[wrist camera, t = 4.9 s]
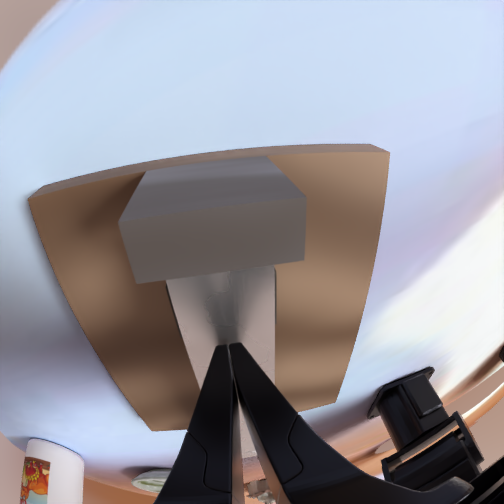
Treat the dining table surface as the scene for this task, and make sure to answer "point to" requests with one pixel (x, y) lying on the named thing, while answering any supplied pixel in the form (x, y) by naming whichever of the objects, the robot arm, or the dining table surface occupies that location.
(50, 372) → the dining table surface
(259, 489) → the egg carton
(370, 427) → the dining table surface
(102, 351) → the base
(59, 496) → the milk bottle
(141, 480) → the saucer
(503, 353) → the mug
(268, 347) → the bar
